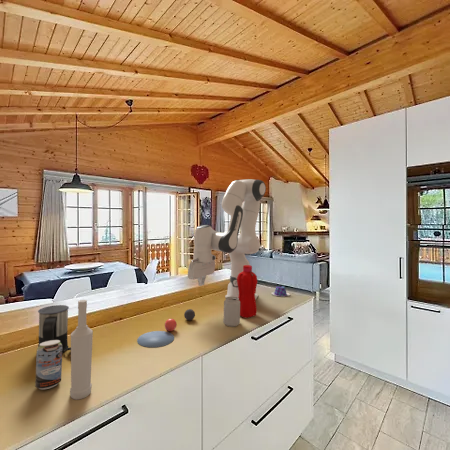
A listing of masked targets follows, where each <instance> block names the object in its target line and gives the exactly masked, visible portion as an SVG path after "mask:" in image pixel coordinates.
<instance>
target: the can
mask: <svg viewBox="0 0 450 450" xmlns="http://www.w3.org/2000/svg"><path fill="white" fill-rule="evenodd" d="M240 319H241V316H240V301H239V298H238V297H232V296H231V297H225V299H224V301H223V323H224V325H225V326H227V327H232V328H233V327H238V325H240V323H241V321H240Z"/></svg>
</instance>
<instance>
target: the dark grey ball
mask: <svg viewBox="0 0 450 450" xmlns="http://www.w3.org/2000/svg"><path fill="white" fill-rule="evenodd" d="M183 316H184V317H183V318H185V320H186V321H192V320H194V319H195V316H196V313H195V311H194V310H193V309H192V308H188V309H187V310H185V312H184V315H183Z"/></svg>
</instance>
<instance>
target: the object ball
mask: <svg viewBox="0 0 450 450" xmlns="http://www.w3.org/2000/svg"><path fill="white" fill-rule="evenodd" d="M177 326H178V325H177V320H176V319H173V318H168V319H166V321H165V323H164V328H165V330H166V332H173V331H175V329H176V328H177Z"/></svg>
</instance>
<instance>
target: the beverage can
mask: <svg viewBox="0 0 450 450" xmlns="http://www.w3.org/2000/svg"><path fill="white" fill-rule="evenodd" d="M35 357H36V359H35V361H36V362H35V364H36V365H35V384H34V387H35V388H37V389H39V390H48V389H52V388H54V387H56V386H57V385H59V384H60V382H61V381H62V374H63V373H62V368H63V367H62V366H63V353H62V344H61V343H60V340H50V341H46V342H42V343H40V346H39V347H38V346H37V349H36V356H35Z"/></svg>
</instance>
